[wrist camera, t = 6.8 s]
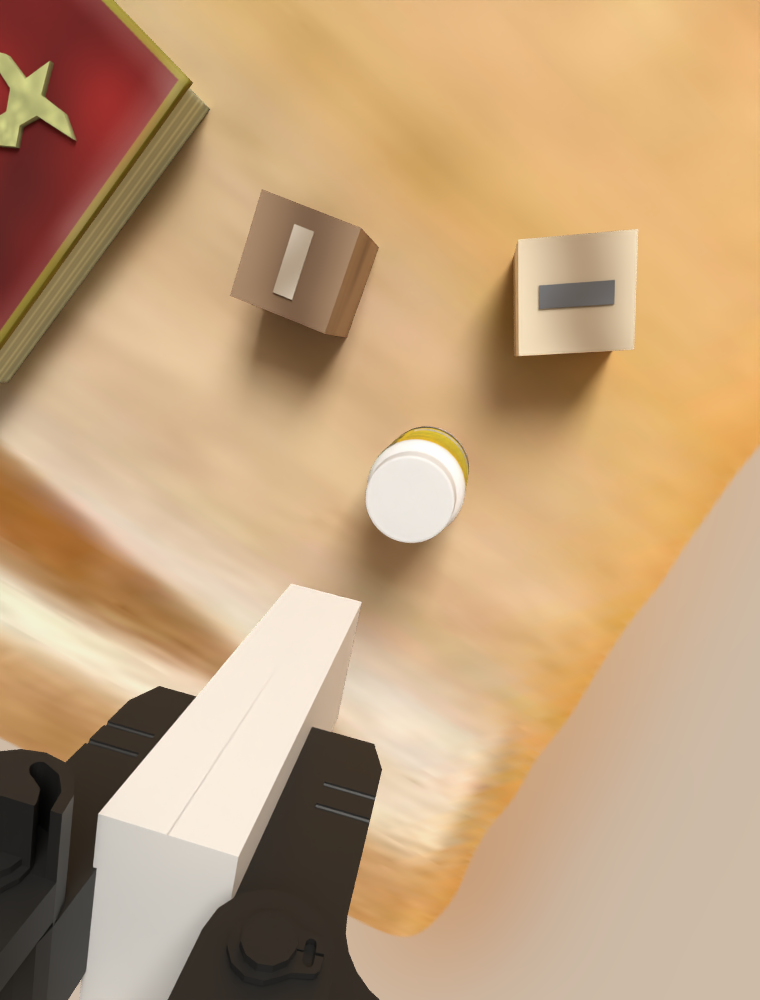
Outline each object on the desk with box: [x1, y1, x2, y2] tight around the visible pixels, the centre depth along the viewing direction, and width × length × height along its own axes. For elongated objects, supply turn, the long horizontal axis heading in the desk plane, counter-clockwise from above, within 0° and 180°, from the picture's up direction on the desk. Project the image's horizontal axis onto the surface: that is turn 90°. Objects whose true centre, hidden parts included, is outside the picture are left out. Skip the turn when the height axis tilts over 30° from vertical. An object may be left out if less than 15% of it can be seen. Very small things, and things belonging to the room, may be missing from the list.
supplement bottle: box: [365, 426, 469, 543], centre depth 31 cm, size 5×5×8 cm
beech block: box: [513, 229, 638, 356], centre depth 29 cm, size 5×5×5 cm
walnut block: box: [230, 190, 379, 338], centre depth 31 cm, size 5×5×5 cm
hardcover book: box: [0, 0, 210, 382], centre depth 34 cm, size 12×21×4 cm, turn 135°
